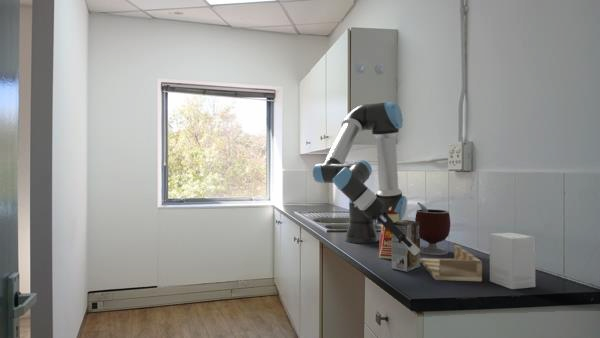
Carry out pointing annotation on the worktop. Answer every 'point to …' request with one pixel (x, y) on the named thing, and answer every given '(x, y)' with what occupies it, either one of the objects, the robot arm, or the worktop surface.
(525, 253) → the supplement box
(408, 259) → the coffee box
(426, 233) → the mate gourd
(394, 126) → the robot arm
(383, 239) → the milk carton
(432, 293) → the worktop surface
